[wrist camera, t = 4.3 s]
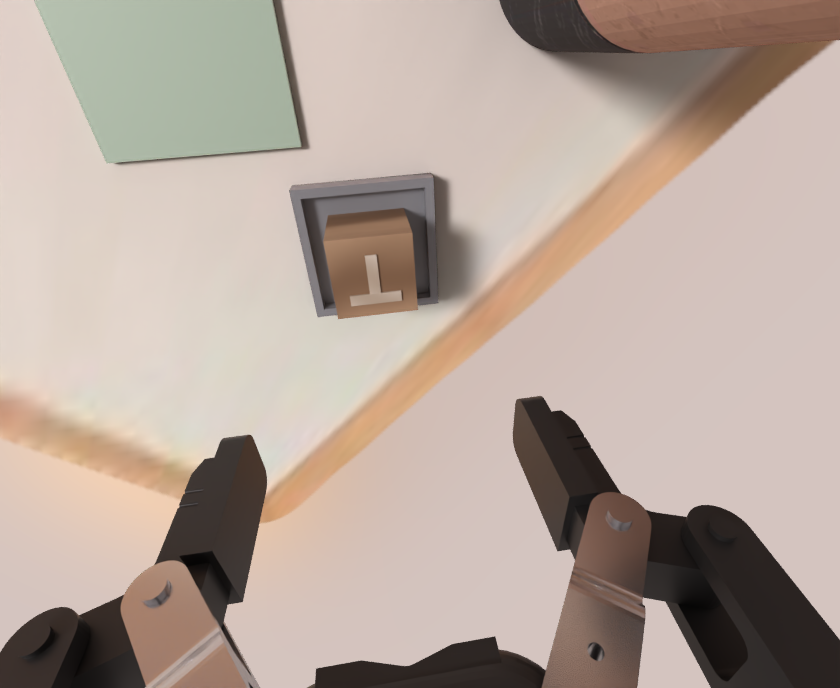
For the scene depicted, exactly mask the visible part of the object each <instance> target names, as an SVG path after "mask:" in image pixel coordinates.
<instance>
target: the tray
mask: <svg viewBox="0 0 840 688" xmlns="http://www.w3.org/2000/svg"><path fill="white" fill-rule="evenodd" d="M289 192H290V197H291V201H292V206H293V210H294V214H295V219H296V223H297V228H298V232H299V237H300V241H301V245H302V250H303V254H304V259H305V263H306V268H307V272H308V276H309V281H310V285H311V290H312V294H313V298H314V303H315V307H316V312H317V316H318V317H322V316H331V315H337V310H336V305H335V300H334V294H333V289H332V284H331V279H330V274H329V269H328V264H327V258H326V253H325V248H324V243H323V240H324V234H325V229H326V223H327V218H328V215H336V214H346V213H357V212H367V211H377V210H387V209H398V208H404V210H405V213H406V216H407V219H408V222H409V224H410V227H411V230H412V235H413V249H414V263H415V277H416V292H417V306H418V305H426V304H435V303H438V281H437V255H436V229H435V204H434V178H433V176H432V175H431V173H424V174H413V175H402V176H391V177H380V178H369V179H359V180H348V181H337V182H326V183H315V184H304V185H293V186H291V188H290V190H289Z"/></svg>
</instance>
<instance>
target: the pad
mask: <svg viewBox="0 0 840 688" xmlns="http://www.w3.org/2000/svg"><path fill="white" fill-rule="evenodd" d="M34 1H35V4H36V6H37V8H38V10H39V13H40V15H41V17H42V19H43V22H44V24H45V26H46V28H47V31H48V33H49V35H50V37H51V40H52V42H53V44H54V46H55V49H56V51H57V53H58V55H59V58H60V60H61V62H62V64H63V66H64V69H65V71H66V73H67V75H68V78H69V80H70V82H71V84H72V87H73V89H74V91H75V93H76V96H77V98H78V100H79V102H80V105H81V107H82V109H83V111H84V114H85V116H86V118H87V120H88V123H89V125H90V127H91V129H92V131H93V134H94V136H95V138H96V140H97V143H98V145H99V147H100V149H101V152H102V154H103V156H104V158H105V161H106V163H117V162H129V161H141V160H153V159H165V158H177V157H188V156H200V155H212V154H224V153H236V152H248V151H259V150H271V149H283V148H295V147H302V143H301V138H300V133H299V128H298V123H297V118H296V113H295V108H294V103H293V98H292V93H291V88H290V83H289V78H288V73H287V68H286V63H285V58H284V52H283V47H282V42H281V37H280V32H279V27H278V22H277V17H276V12H275V7H274V2H273V0H34Z"/></svg>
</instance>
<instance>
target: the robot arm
mask: <svg viewBox="0 0 840 688" xmlns="http://www.w3.org/2000/svg"><path fill="white" fill-rule="evenodd" d="M513 443H514V448H515V451H516V454H517V457H518V458H519V461H520V463H521V466H522V468H523V471H524V473H525V475H526V478H527V480H528V483H529V485H530V487H531V490H532V492H533V494H534V497H535V499H536V501H537V504H538V506H539V509H540V511H541V513H542V516H543V518H544V520H545V522H546V525H547V527H548V529H549V532H550V534H551V536H552V539H553V541H554V544H555V546H556V549H557V551H562V550H568V549H570V550H571V552H572V554H573V556H574V559H575V563H574V567H573V571H572V575H571V579H570V582H569V586H568V590H567V594H566V598H565V601H564V605H563V608H562V612H561V616H560V620H559V623H558V627H557V631H556V635H555V639H554V642H553V646H552V650H551V653H550V658H549V661H548V665H547V669H546V670H544V669H543V668H542V667H540V666H539V665H538V664H536V663H534V662H533V661H531V660H529V659H527V658H525V657H523V656H521V655H518V654H515V653H512V652H509V651H504V650H498V646H497V642H496V638H495V637H490V638H484V639H479V640H473V641H468V642H462V643H456V644H452V645H450V646H448V647H446V648H444V649H442V650H440V651H438V652H436V653H434V654H432V655H431V656H429V657H427V658H425V659H423V660H421V661H419V662H417V663H415V664H413V665H411V666H398V665H391V664H390V665H389V664H383V663H375V662H368V661H356V662H351V663H345V664H340V665H334V666H328V667H323V668H318V669H316V680H315V684H313V685H311V686H310V687H308V688H637V685H638V676H639V667H640V658H641V650H642V642H643V633H644V624H645V606H644V605H643V604H642V599H643V597H644V598H649V599H655V600H661V601H666V603H667V605H668V607H669V609H670V611H671V613H672V615H673V617H674V618H675V620H676V622H677V624H678V626H679V628H680V630H681V632H682V634H683V635H684V637H685V639H686V641H687V643H688V645H689V647H690V649H691V651H692V653H693V654H694V656H695V658H696V660H697V662H698V664H699V666H700V668H701V670H702V671H703V673H704V675H705V677H706V679H707V681H708V683H709V685H710V687H711V688H840V640H839V639H838V637H837V636H836V635H835V633H834V632H833V631H832V630H831V628H829V626H828V625H827V623H826V622H825V621H824V620H823V618H822V617H821V616H820V615H819V614H818V612H817V611H816V610H815V608H814V607H813V606H812V605H811V603H810V602H809V601H808V600H807V598H806V597H805V596H804V595H803V593H802V592H801V591H800V590H799V588H798V587H797V586H796V585H795V583H794V582H793V581H792V580H791V578H790V577H789V576H788V575H787V573H786V572H785V571H784V569H783V568H782V567H781V566H780V564H779V563H778V562H777V561H776V560H775V558H774V557H773V556H772V554H771V553H770V552H769V551H768V549H767V548H766V547H765V546H764V544H763V543H762V542H761V541H760V539H759V538H758V537H757V536H756V534H755V533H754V532H753V531H752V530H751V528H750V527H749V526H748V525H747V524H746V523H745V522H744V521H743V520H742V519H741V518H739V517H738V516H736V515H735V514H733V513H731V512H730V511H727V510H725V509H722V508H720V507H716V506H710V505H701V506H697V507H695V508H693V509H692V510H691V511H690V512H689V514H688V516H687V517H683V516H676V515H668V514H662V513H655V512H650V511H648V510H645V509H644V508H643V507H642V506H641V505H640V504H639V503H638V502H636V501H635V500H634V499H632V498H630V497H628V496H626V495H623V494H621V492H620V491H619V490H618V488H617V487H616V485H615V483H614V482H613V481H612V479H611V477H610V476H609V474H608V472H607V471H606V469H605V468H604V466H603V465H602V463H601V461H600V460H599V458H598V457H597V455H596V453H595V452H594V450H593V449H591V446H590V444H589V442H588V441H587V439H586V438H585V437H584V435H583V433H582V431H581V430H580V428H579V427H578V425H577V423H576V422H575V421H574V420H573V419H571V418H570V417H569V416H568V415H566V414H565V413H564V412H563V411H553V412H551V410H550V408H549V407H548V405H547V403H546V401H545V400H544V398H543V397H542V396H537V397H530V398H522V399H517V400H516V404H515V415H514V427H513ZM266 488H267V476H266V470H265V467H264V464H263V462H262V459H261V457H260V454H259V452H258V449H257V447H256V444H255V442H254V439H253V437H252V436H251V435H244V436H236V437H229V438H223V439H222V440H221V442H220V444H219V447H218V450H217V452H216V455H215V458H209V459H204V461H203V462H202V463H201V464H200V465H199V466H198V468H197V469H196V470H195V471H194V472H193V473H192V475H191V477H190V480H189V482H188V484H187V487H186V489H185V494H183V497H182V499H181V502H180V504H179V505H180V507H179V508H178V509H177V512H176V514H175V517H174V519H173V521H172V524H171V527H170V529H169V531H168V534H167V536H166V539H165V541H164V544H163V546H162V549H161V551H160V554H159V556H158V559H157V561H156V563H155V565H154V566H152V567H150V568H148V569H147V570H145V571H144V572H143V573H141V574H140V575H139V576H138V577H137V578H136V579H135V580H134V581H133V582H132V583H131V585H130V586H129V587H128V589H127V591H126V592H125V594H124V595H122V596H121V597H119V598H117V599H114V600H112V601H110V602H108V603H105V604H103V605H101V606H99V607H97V608H94V609H92V610H90V611H88V612H86V613H83V614H81V615H78V614H77V613H76V612H75V611H73V610H72V609H70V608H67V607H59V608H54V609H50V610H48V611H45V612H43V613H41V614H39V615H37V616H36V617H34V618H33V619H31V620H30V621H28V622H27V623H26V624H24V625H23V626H22V627H21V628H20V629H19V630H18V631H17V632H16V633H15V634H14V635H13V636H12V637H11V638H10V639H9V641H8V642H7V643H6V644H5V646H4V648H3V649H2V651H1V652H0V688H145V687H146V688H260V687H259V685H258V683H257V681H256V680H255V678H254V676H253V674H252V672H251V670H250V669H249V667H248V665H247V663H246V661H245V659H244V658H243V656H242V654H241V652H240V650H239V648H238V646H237V645H236V643H235V641H234V639H233V637H232V635H231V634H230V632H229V630H228V628H227V626H226V624H225V623H224V617H225V613H226V609H227V605H228V604H233V603H239V602H243V598H244V593H245V588H246V583H247V579H248V574H249V569H250V564H251V560H252V555H253V550H254V546H255V541H256V536H257V531H258V527H259V522H260V517H261V513H262V508H263V503H264V498H265V494H266Z"/></svg>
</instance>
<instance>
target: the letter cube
mask: <svg viewBox="0 0 840 688" xmlns="http://www.w3.org/2000/svg"><path fill="white" fill-rule="evenodd" d="M323 243H324V248H325V253H326V258H327V264H328V269H329V274H330V279H331V284H332V289H333V294H334V300H335V305H336V310H337V315H338V319H343V318H352V317H360V316H369V315H377V314H386V313H395V312H403V311H412V310H418V306H417V292H416V277H415V263H414V249H413V235H412V230H411V227H410V224H409V222H408V219H407V216H406V213H405V210H404V208H398V209H387V210H377V211H367V212H357V213H346V214H336V215H328V218H327V223H326V229H325V234H324V240H323Z"/></svg>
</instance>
